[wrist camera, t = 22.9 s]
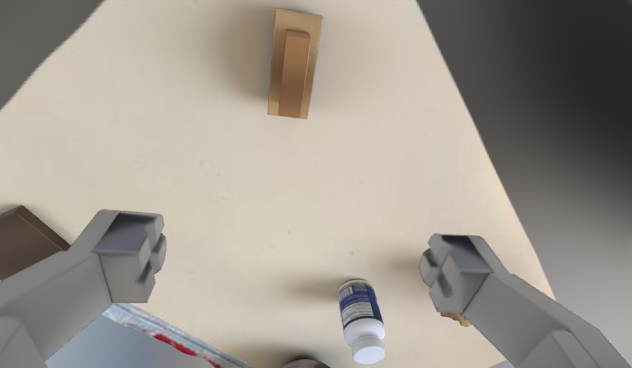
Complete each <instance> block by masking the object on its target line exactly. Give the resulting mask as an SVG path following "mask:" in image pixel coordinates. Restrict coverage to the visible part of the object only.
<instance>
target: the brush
mask: <svg viewBox="0 0 632 368" xmlns="http://www.w3.org/2000/svg"><path fill="white" fill-rule="evenodd" d="M322 19H323V17H322V16H321V15H316V14H310V13H304V12H298V11H293V10H287V9H281V8H276V14H275V27H274V39H273V51H272V64H271V76H270V88H269V100H268V113H267V114H268V115H276V116H285V117H293V118H301V119H307V117H308V111H309V104H310V98H311V91H312V85H313V78H314V71H315V65H316V58H317V52H318V45H319V39H320V32H321V26H322Z"/></svg>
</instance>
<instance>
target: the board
mask: <svg viewBox="0 0 632 368" xmlns="http://www.w3.org/2000/svg"><path fill="white" fill-rule="evenodd" d="M70 247H71V245H70V244H68V243H67V242H66V241H65V240H63V239H62V238H61V237H60V236H59V235H57V234H56V233H55V232H54V231H53V230H51V229H50V228H49V227H48V226H47V225H45V224H44V223H43V222H42V221H41V220H39V219H38V218H37V217H36V216H35V215H33V214H32V213H31V212H30V211H28V210H27V209H26V208H25V207H24V206H20V207H18V208H15V209H13V210H11V211H9V212H6V213H4V214H2V215H0V280H1V281H2V280H4V279H6V278H8V277H10V276H12V275H14V274H16V273H18V272H20V271H22V270H24V269H26V268H28V267H30V266H32V265H34V264H36V263H38V262H40V261H42V260H44V259H46V258H48V257H50V256H52V255H53V254H55V253H57V252H59V251H68V249H69V248H70Z"/></svg>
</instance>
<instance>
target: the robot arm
mask: <svg viewBox="0 0 632 368" xmlns="http://www.w3.org/2000/svg"><path fill="white" fill-rule="evenodd" d="M163 227H164V220H163V216H162V215H161V214H154V213H143V212H132V211H118V210H107V209H103V210H100V211H98V212H97V214H96V215H95V216H94V217H93V219H92V220H91V221H90V222H89V224H88V225H87V226H86V228H85V229H84V230H83V231H82V233H81V234H80V235H79V237H78V238H77V239H76V240H75V242H74V243H73V244H72V245H71V247H70V248H69V249H68V251H59V252H57V253H55V254H53V255H52V256H50V257H48V258H46V259H44V260H42V261H40V262H38V263H36V264H34V265H32V266H30V267H28V268H26V269H24V270H22V271H20V272H18V273H16V274H14V275H12V276H10V277H8V278H6V279H4V280H2V281H0V368H47V366H46V364H45V361H46V360H47V359H49V358H50V357H51V356H52V355H53V354H54V353H56V352H57V351H58V350H59V349H60V348H62V347H63V346H64V345H65V344H66V343H67V342H68V341H70V340H71V339H72V338H73V337H75V336H76V335H77V334H78V333H79V332H80V331H81V330H83V329H84V328H85V327H86V326H88V325H89V324H90V323H91V322H92V321H94V320H95V319H96V318H97V317H98V316H99V315H101V314H102V313H103V312H104V311H105V310H107V309H108V308H109V307H110V306H111V305H112V303H147V302H148V299H149V297H150V295H151V292H152V290H153V287H154V285H155V276H154V274H156V273H157V272H159V271H160V270H161V268H162V266H163V263H164V260H165V255H166V237H165V236H164V235H163V234H162V233H161V231H162V229H163ZM428 244H429V246H430V248H429V249H428V250H426V251H425V252H424V253H423V255H422V257H421V259H420V273H421V277H422V279H423V281H424V283H426V284H427V285H428V286H429V287H430V288H431V289H430V292H429V295H430V297H431V299H432V302H433V304H434V306H435V308H436V310H437V312H446V313H463V316H464V317H465V318H466V319H467V320H468V321H469V322H470V323H471V324H472V325H473V326H474V327H475V328H476V329H477V330H478V331H479V332H480V333H481V334H482V335H483V336H484V337H485V338H486V339H487V340H488V341H489V342H490V343H491V344H492V345H493V346H494V347H495V348H496V349H497V350H498V351H499V352H500V353H501V354H502V355H503V356H504V357H505V358H506V359H507V360H509V362H510V363H511V364H513V366H514V367H515V368H632V367H631V366H630V365H629V364H628V363H627V362H626V360H625V359H624V358H623V357H622V356H621V355H620V353H619V352H618V351H617V350H616V349H615V348H614V347H613V346H612V344H611V343H610V342H609V341H608V340H607V339H606V337H605V336H604V335H603V334H602V333H601V332H600V331H599V329H597V328H596V327H594V326H593V325H591V324H590V323H588V322H586V321H585V320H583V319H582V318H580V317H579V316H577V315H576V314H574V313H572V312H571V311H570V310H568V309H566V308H565V307H563V306H562V305H561V304H559V303H557V302H556V301H554V300H553V299H551V298H550V297H548V296H547V295H545V294H544V293H542V292H541V291H539V290H538V289H536V288H535V287H533V286H532V285H530V284H528V283H527V282H525V281H524V280H522V279H521V278H519V277H518V276H516V275H515V274H510V273H509V272H508V271H507V269H506V268H505V267H504V265H503V264H502V263H501V261H500V260H499V259H498V257H497V256H496V255H495V253H494V252H493V251H492V249H491V248H490V247H489V245H488V244H487V243H486V241H485V240H484V239H483V238H482V237H480V236H476V235H452V234H436V233H434V234H433V235H432V236H431V237H430V239H429V242H428Z"/></svg>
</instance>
